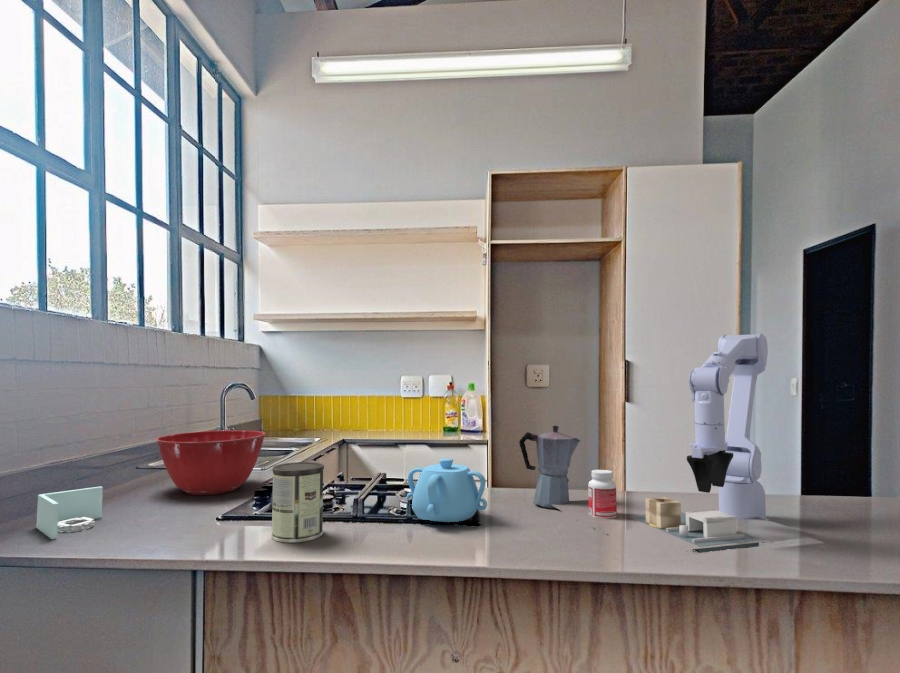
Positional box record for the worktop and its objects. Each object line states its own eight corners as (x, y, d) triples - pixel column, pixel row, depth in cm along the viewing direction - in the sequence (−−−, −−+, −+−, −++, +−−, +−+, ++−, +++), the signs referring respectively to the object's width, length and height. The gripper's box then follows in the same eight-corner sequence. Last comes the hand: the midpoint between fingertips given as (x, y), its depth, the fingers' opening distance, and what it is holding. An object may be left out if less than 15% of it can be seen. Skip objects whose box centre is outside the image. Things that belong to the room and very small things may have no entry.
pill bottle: (622, 521, 126) (621, 471, 127) (604, 525, 123) (603, 474, 123) (601, 515, 131) (600, 467, 132) (582, 519, 128) (582, 470, 128)
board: (681, 517, 130) (681, 499, 130) (758, 546, 108) (758, 524, 109) (629, 521, 125) (629, 503, 126) (699, 552, 104) (698, 529, 105)
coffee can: (290, 526, 121) (292, 460, 122) (332, 531, 117) (333, 463, 118) (259, 539, 111) (261, 468, 112) (304, 545, 108) (305, 471, 109)
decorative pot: (492, 525, 123) (493, 463, 123) (422, 531, 117) (423, 466, 118) (466, 508, 138) (466, 452, 139) (403, 513, 133) (403, 455, 133)
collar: (665, 520, 122) (664, 497, 122) (681, 526, 117) (680, 502, 117) (645, 521, 120) (645, 498, 121) (660, 528, 116) (660, 503, 116)
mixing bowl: (129, 499, 145) (131, 439, 146) (196, 478, 173) (198, 428, 174) (229, 504, 140) (231, 442, 141) (281, 481, 168) (282, 430, 169)
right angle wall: (51, 542, 111) (53, 504, 111) (36, 530, 119) (38, 494, 119) (118, 529, 120) (119, 494, 120) (99, 519, 128) (101, 486, 128)
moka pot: (585, 510, 136) (584, 427, 137) (522, 509, 136) (521, 427, 137) (576, 501, 145) (576, 423, 147) (517, 500, 146) (517, 423, 147)
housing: (713, 526, 116) (713, 509, 117) (736, 535, 111) (735, 516, 111) (685, 529, 114) (685, 511, 115) (707, 538, 109) (706, 519, 109)
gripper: (703, 420, 126) (704, 481, 125) (676, 424, 115) (677, 491, 115) (736, 422, 121) (738, 485, 120) (711, 427, 110) (713, 497, 110)
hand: (711, 489), depth 117 cm, fingers open, 7 cm apart
